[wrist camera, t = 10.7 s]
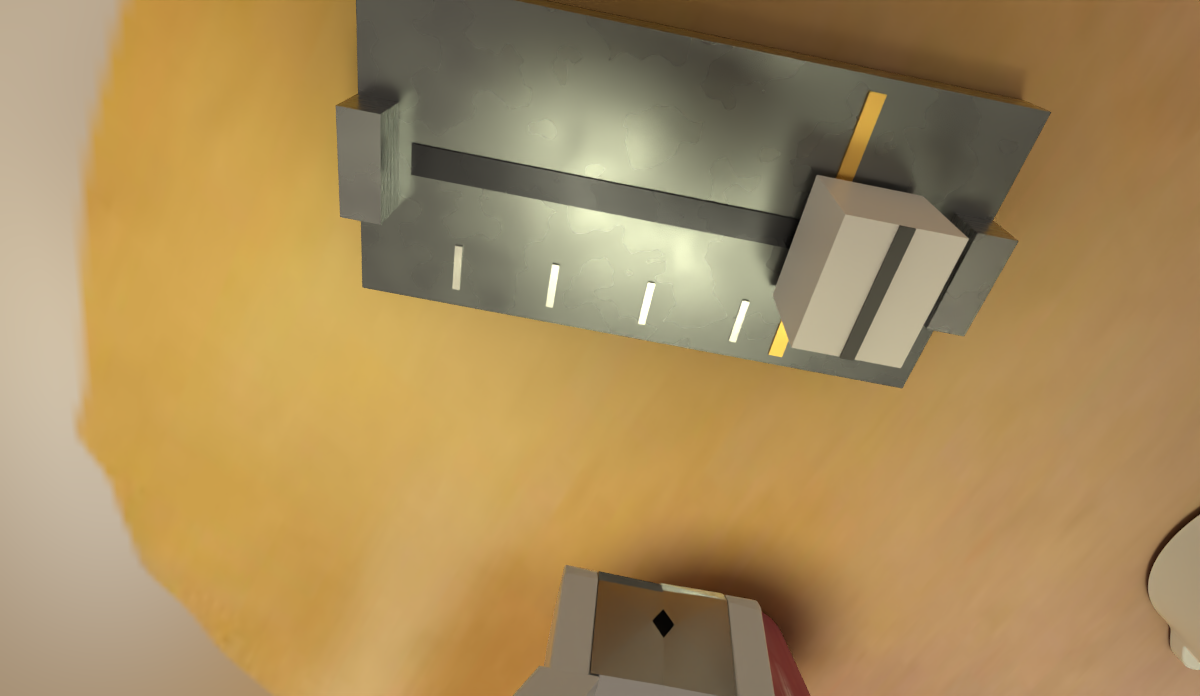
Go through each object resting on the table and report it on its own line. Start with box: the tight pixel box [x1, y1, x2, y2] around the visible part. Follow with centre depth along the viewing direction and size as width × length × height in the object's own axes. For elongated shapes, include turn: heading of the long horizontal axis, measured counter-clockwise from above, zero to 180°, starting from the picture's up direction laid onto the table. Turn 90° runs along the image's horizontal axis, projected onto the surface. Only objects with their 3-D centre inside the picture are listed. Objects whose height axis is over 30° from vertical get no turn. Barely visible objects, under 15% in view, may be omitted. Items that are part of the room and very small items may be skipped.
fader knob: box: [773, 175, 969, 368], centre depth 23 cm, size 4×5×4 cm
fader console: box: [336, 0, 1051, 388], centre depth 25 cm, size 24×12×4 cm, turn 80°
